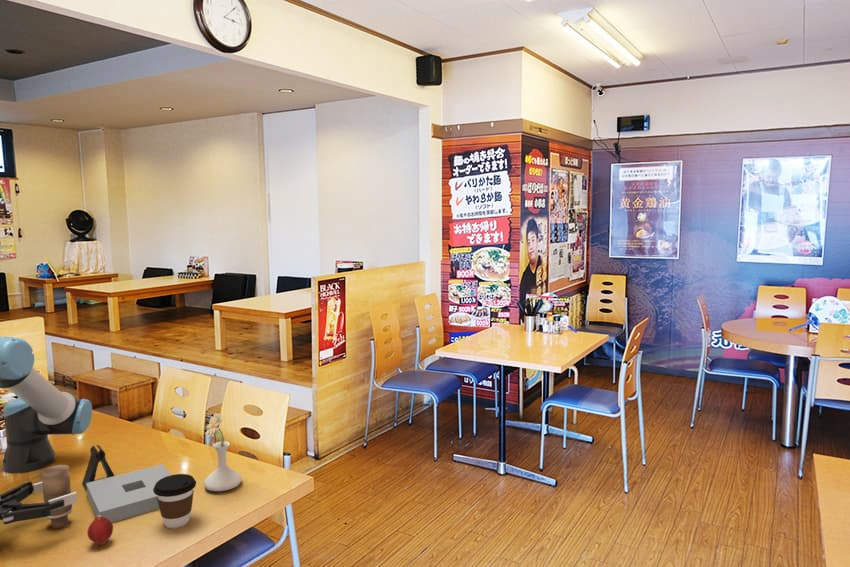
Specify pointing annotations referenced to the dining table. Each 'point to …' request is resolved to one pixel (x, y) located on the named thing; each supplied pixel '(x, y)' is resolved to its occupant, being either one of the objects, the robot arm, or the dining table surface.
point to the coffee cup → (175, 499)
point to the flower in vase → (220, 461)
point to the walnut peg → (57, 492)
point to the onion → (100, 530)
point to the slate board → (126, 493)
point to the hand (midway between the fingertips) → (68, 488)
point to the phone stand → (93, 464)
